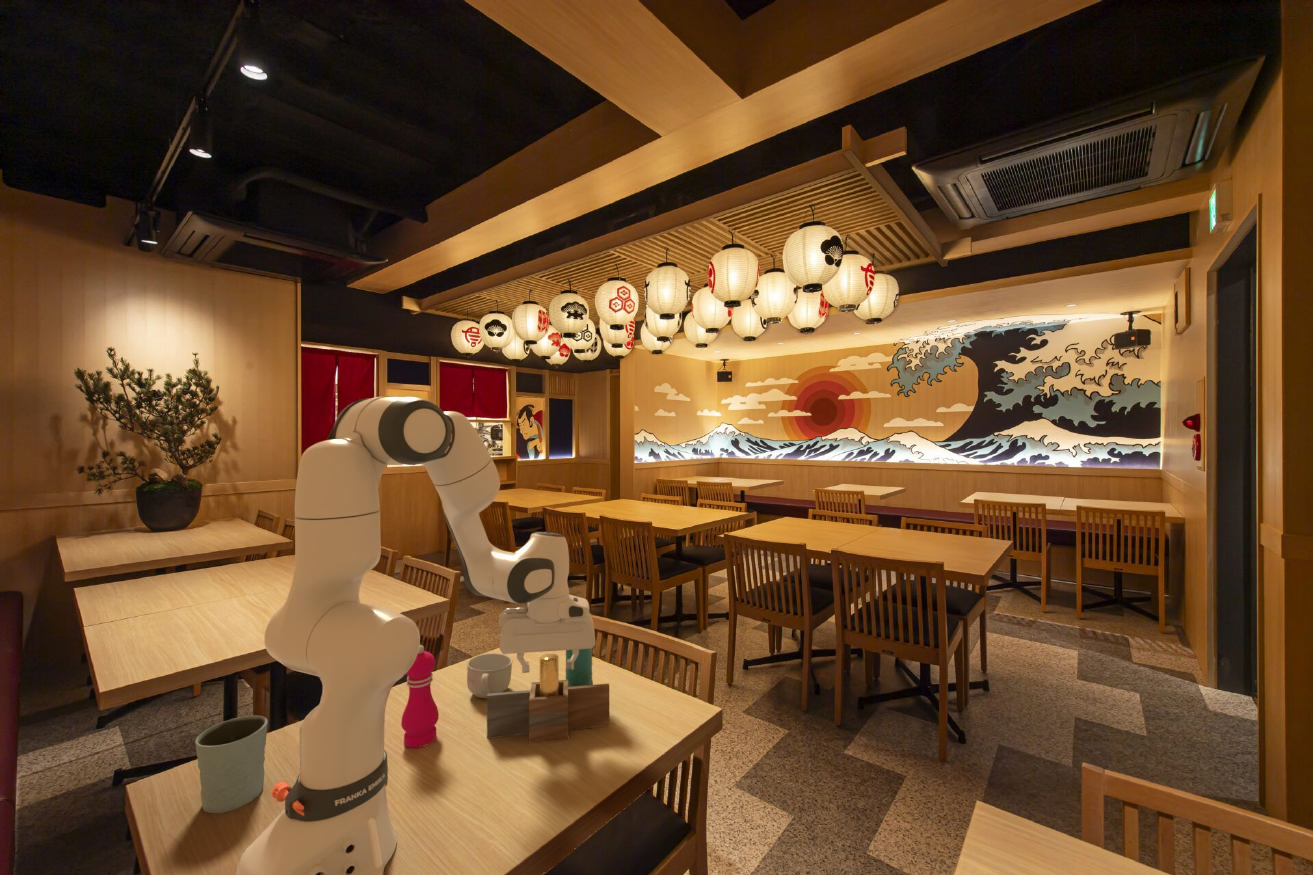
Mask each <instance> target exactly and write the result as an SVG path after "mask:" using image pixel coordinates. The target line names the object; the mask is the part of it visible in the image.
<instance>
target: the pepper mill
mask: <svg viewBox="0 0 1313 875" xmlns="http://www.w3.org/2000/svg"><path fill="white" fill-rule="evenodd" d="M435 666H436V659H435V656H434V655H433V654H432V653H431V652H429V651H425V647H424V645H422V644H420V646H419V651H418V654H417V657H416V659H415V661H414V663H413V665H412V667H411V668H410V669H409V671H408V672H407V673H406V674H405V675H406V676H407V678H406V681H407V682H406V686H408V690H409V691H408V692H409V694H408V700H407V702H406V706H405V708H404V710H403V712H402V716H401V723H400V725H401V728H402V730H404V733H403V744H404V745H405V747H407V748H410V749H411V748H412V749H415V748H416V749H419V748H423V747H425V746H428V745H430V744H431V743H433V742H434V741H435V740H436V738H437V727H436V725H437V723H438V721H439V718H440V717H439V716H440V714H439V709H438V706H437V704H436V702H435V700H434V698H433V694H432V689H431V685H432V684H431V683H432V682H433V681H434V680H433V670H435Z"/></svg>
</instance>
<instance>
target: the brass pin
mask: <svg viewBox="0 0 1313 875" xmlns="http://www.w3.org/2000/svg"><path fill="white" fill-rule="evenodd" d="M539 682H540V697H548V696H559V655H558V654H556V653H546V654H542V655H541V656H540V657H539Z"/></svg>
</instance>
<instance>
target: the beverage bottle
mask: <svg viewBox="0 0 1313 875" xmlns="http://www.w3.org/2000/svg"><path fill="white" fill-rule="evenodd" d="M592 652H593V647H592V648H591V649H579V655H578V656H577V658H576V660H575V661H574V669H572V670H567V659H571V657H572V655H573V654H572V650H565V680H568V687H574V686H586V685H594V684H593V683H594V681H593V653H592Z"/></svg>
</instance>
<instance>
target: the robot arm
mask: <svg viewBox="0 0 1313 875" xmlns="http://www.w3.org/2000/svg"><path fill="white" fill-rule="evenodd" d="M388 465H390V466H394V465H395V466H396V465H398V466H399V465H400V466H401V465H409V466H417V465H423V467H424V468H425V469H426V471H427V474H428V475H429V478H430V479H431V482H432V483H433V485H434V488H435V490H436V492H437V493H438V496H439V498H440V501H441V508H442V509H441V510H442V514H443V518H444V519H445V522H446V525H447V527H448V530H449V532H450V535H451V537H452V540H453V542H454V544H455V547H456V550H457V551H458V554H459V557H460V560H461V567H462V575H463V581H464V585H465V586H466V588H467V589H468V591H469V592H470V593H471V594H473V595H475V596H478V597H479V596H480V597H488V598H492V599H497V600H501V601H506V602H508V603H513V604H516V605H517V604H520V605H523V604H527V607H526V606H525V607H523V606H522V607H515V608H513V607H510V608H509V607H508V608H506V609H505V610H502V611H501V613H500V614H499V616H498V626H499V628H500V630H501V632H500V639H499V651H500V652H501V654H504V655H509V654H511V655H513V654H516V659H517V660H518V662H519V663H520V665H521V672H522V674H526V673H530V670H531V668H530V665H531V664H530V663H531V662H530V661H526V659H525V657H524V656H525V653H526V654H527V653H541V652H558V651H566V650H572V654H573V655H572V657H571V659H567V670H572V669H574V661H575V660H576V658H577V656H578V655H579V649H591V648H592V649H593V647H594V646H595V645H596V637H595V636H596V634H595V625H594V621H593V616H592V614H591V612H590V604H589V601H588V599H586V598H584V597H579V596H577V595H572V594H570V589H569V585H568V577H569V574H570V555H569V554H570V553H569V547H568V546H569V545H568V542H567V538H566V537H565V536H564V535H562V534H560V533H554V532H546V531H536V532H532V533H531V534H530V536H529V539H528V540H527V542H526V543H525V544H524V545H523V546H522V547H520V548H519V549H517V550H516V551H514V552H511V551H507V550H502V549H500V548H498V547H496V546H495V545H493V544H492V543H491V542H490V541H489V539H488V536H487V533H486V529H485V527H484V525H483V523H482V522H483V521H482V520H481V516H480V513H481V512H482V511H484V510H485V509H487V508H488V507H490V505H491V504H492V503H493V502H494V501H495V500H496V498H497V497H498V493H499V491H500V489H501V488H500V487H501V481H500V475H499V472H498V468H497V466H496V464H495V462H494V460H493V458H492V456H491V454H490V452H489V451H488V448H487V446H486V444H485V443H484V441H483V438H481V436H480V434H479V433H478V431H477V430H476V428H475V427H474V425H473V424H472V423H471V421H470V420H469V419H468V418H467V416H465V415H464V414H463V413H460V412H458V411H453V410H451V411H450V410H448V411H444V410H442V408H441V407H439V406H438V405H436V404H435V403H433V402H432V401H429V400H427V399H424V398H421V397H416V396H404V397H401V396H394V395H383V396H377V397H372V398H363V399H359V400H357V401H356V400H355V401H354V402H352V403H350V404H348V405H347V406H346V407H344V408H343V409H342V410H341V411H340V412H339V414H338V416H337V417H336V420H335V422H334V425H333V428H332V429H331V431H330V433H329V435H328V436H327V438H326V440H322V441H319V442H316V443H314V444H313V445H311V446H309V447H307V449H305V451H304V452H303V453H302V454H301V457H300V461H299V465H298V470H297V476H296V483H295V492H294V540H295V541H294V542H295V543H294V545H295V548H294V549H295V550H294V554H295V558H294V561H295V562H294V571H293V578H292V582H291V585H290V589H289V592H288V595H287V597H286V601H285V602H284V604H283V606H281V607H280V608H279V609H278V610H277V611H276V612H275V613H274V614H273V616H272V617H271V619H269V622H268V624H267V625H266V627H265V628H266V629H265V632H264V646H265V649H266V652H267V653H268V654H269V656H270V657H272V658H273V659H274V660H276V661H277V662H278V663H281V664H282V665H283V666H285V667H286V668H288V669H290V670H292V671H296V672H299V673H304V674H306V675H307V674H308V675H312V676H315V677H318V678H319V679H320V681H321V685H322V693H321V697H320V702H319V704H318V705H317V706H315V707H314V708H313V709H311V711H309V713H308V714H307V715H306V716H305V718H304V719H303V720H302V722H301V725H300V728H299V774H298V776H297V778H296V780H295V783H294V784H293V785H292V787H291V786H289V784H288V783H287V782H285V781H281V782H278V783H277V784H275V785H274V786H273V788H272V789H271V792H270V793H271V794H270V795H271V797H273V798H274V799H275V801H276V802H278V803H283V802H284V809H283V810H282V811H281V812H280V813H279V814H278V815H277V816H276V817H275V819H273V821H272V822H270V824H269V825H268V826H267V827H266V828H265V829H264V830H263V831H262V832H261V833H260V834H259V835H258V836H257V837H256V839H254V841H253V842H252V843H251V844H249V845H248V847H247V848H246V849H245V850H244V851H243V853H242V855H241V856H240V859H239V860H238V863H237V868H236V871H235V875H384V870H385V867H386V865H387V864H388V863H389V861H390V859H391V858H392V856H393V855H394V852H395V850H396V848H397V844H398V843H397V841H398V840H397V839H398V838H397V834H396V831H395V829H394V826H393V824H392V823H393V822H392V820H391V816H390V810H389V805H388V798H387V786H388V782H389V780H388V779H389V778H388V777H389V776H388V774H389V766H388V754H387V751H386V750H385V717H386V715H385V713H386V707H387V702H388V700H389V695H390V693H391V691H392V688H393V687H394V685H395V684H396V683H397V682H398V681H399V680H401V679H402V678H403V677H404V676H405V675H406V673H407V672H408V671H409V669H410V668H411V667H412V665H413V663H414V661H415V659H416V657H417V654H418V651H419V646H420V645H421V642H420V641H421V636H420V630H419V628H418V626H417V624H416V623H415V621H414V620H413V619H411V618H409V617H407V616H406V615H404V614H402V613H400V612H398V611H396V610H394V609H391V608H389V607H385V606H379V605H374V604H373V605H372V604H369V603H362V602H361V600H360V589H361V585H362V582H363V579H364V577H365V574H367V573H369V572H370V571H371V570H373V569H374V568H375V567H376V566H377V564H378V563H379V561H380V559H381V555H382V543H381V542H382V541H381V540H382V539H381V510H380V509H381V508H380V507H381V505H380V503H381V502H380V493H379V488H380V484H381V483H380V482H381V479H382V476H383V473H384V472H385V470H386V468H387V466H388Z"/></svg>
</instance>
